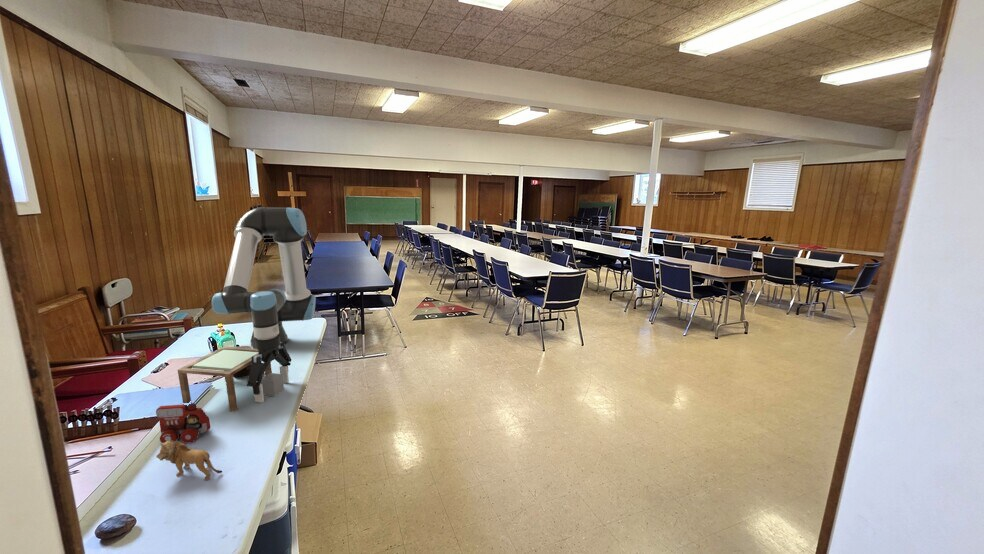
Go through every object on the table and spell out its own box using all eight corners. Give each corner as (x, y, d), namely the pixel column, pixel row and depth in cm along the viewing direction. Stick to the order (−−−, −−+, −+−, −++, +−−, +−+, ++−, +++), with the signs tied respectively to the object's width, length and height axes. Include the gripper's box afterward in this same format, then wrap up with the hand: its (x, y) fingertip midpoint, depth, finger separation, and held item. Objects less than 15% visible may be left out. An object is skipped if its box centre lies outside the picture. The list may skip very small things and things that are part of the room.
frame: (228, 379, 144) (223, 346, 141) (272, 383, 142) (269, 349, 139) (183, 407, 125) (177, 369, 122) (234, 411, 123) (229, 374, 120)
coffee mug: (242, 380, 143) (239, 356, 141) (223, 377, 145) (220, 353, 143) (266, 367, 154) (264, 344, 152) (248, 364, 156) (245, 341, 154)
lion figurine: (156, 480, 94) (150, 448, 92) (173, 465, 100) (168, 434, 98) (215, 481, 95) (210, 450, 93) (229, 466, 100) (225, 436, 98)
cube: (271, 387, 139) (269, 372, 137) (284, 388, 138) (282, 373, 137) (261, 394, 134) (260, 379, 133) (275, 396, 134) (273, 380, 132)
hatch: (224, 351, 139) (224, 349, 138) (260, 354, 137) (260, 351, 137) (193, 368, 126) (192, 365, 125) (232, 371, 124) (231, 368, 124)
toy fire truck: (204, 442, 109) (198, 410, 106) (154, 446, 106) (147, 413, 104) (216, 427, 115) (211, 397, 113) (169, 431, 113) (163, 400, 110)
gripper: (251, 351, 119) (258, 411, 123) (298, 324, 143) (303, 376, 148) (229, 349, 120) (236, 409, 124) (280, 323, 144) (285, 374, 148)
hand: (272, 391), depth 136 cm, fingers open, 13 cm apart
